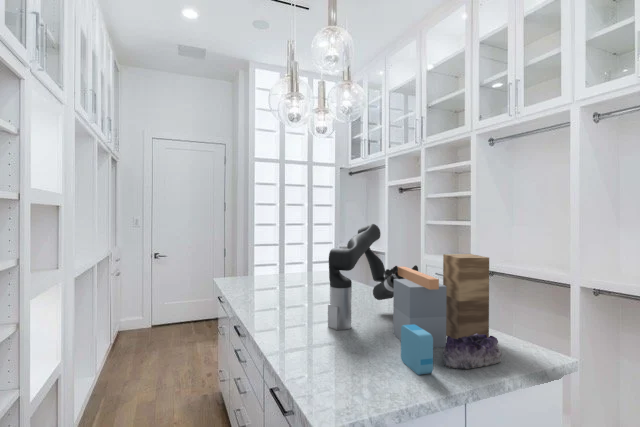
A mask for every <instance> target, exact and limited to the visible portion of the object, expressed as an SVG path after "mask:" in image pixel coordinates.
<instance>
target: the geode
mask: <svg viewBox="0 0 640 427" xmlns="http://www.w3.org/2000/svg"><path fill="white" fill-rule="evenodd" d="M498 343H499V339H498V338H497V337H496V336H493V335H489V338H487V335H486V334H482V335H479V334H477V333H476V334H474V335H470V336H468V337H466V336H465V337H461V338H458V339H455V338H451V337H450V336H448V337H447V336H446V346H445V347H443V351H442V354H443V357H442V362H443V364H444V365H443V366H444V367H445V368H447V369H450V370H451V369H453V370H460V371H463V370H464V371H465V370H469V369H474V368H480V367H481V368H483V367H488V366H491V365H492V366H493V365H496V364H498V363H501V362H502V360H501V358H502V352H501V350H500V348H499V346H498Z"/></svg>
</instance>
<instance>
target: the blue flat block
mask: <svg viewBox="0 0 640 427" xmlns="http://www.w3.org/2000/svg"><path fill="white" fill-rule="evenodd" d="M400 359H401V361H402V363H403V364H405V366H407V367H408V368H409V369H410V370H412V371H413V372H414V373H415V374H416V375H419V376H420V375H426V374H427V375H429V374H432V373H433V372H434V348H433V337H432V335H431V334H430V333H428V332H427V331H425V330H423V329H422V328H420V327H418V326H417V325H415V324H413V325H402V327H401V341H400Z"/></svg>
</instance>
